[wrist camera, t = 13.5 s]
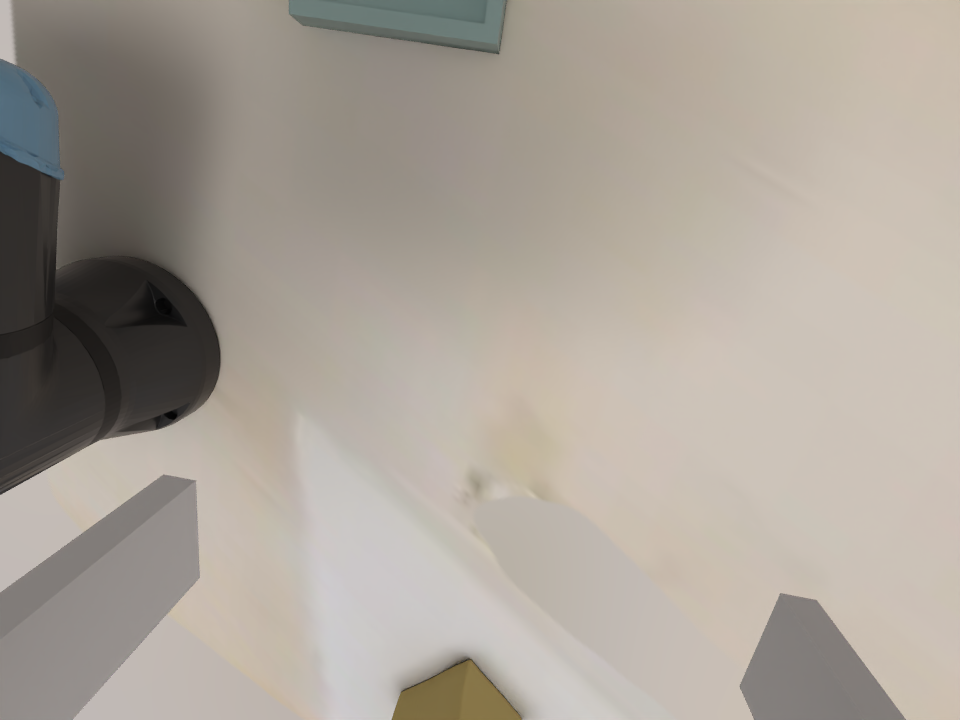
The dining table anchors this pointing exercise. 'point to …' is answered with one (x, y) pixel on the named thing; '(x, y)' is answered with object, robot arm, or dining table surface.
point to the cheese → (454, 698)
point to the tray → (411, 20)
